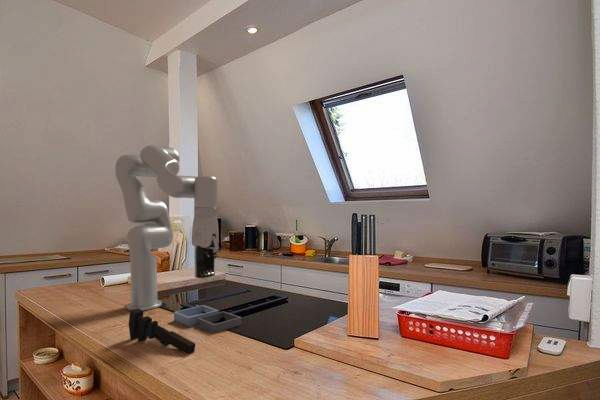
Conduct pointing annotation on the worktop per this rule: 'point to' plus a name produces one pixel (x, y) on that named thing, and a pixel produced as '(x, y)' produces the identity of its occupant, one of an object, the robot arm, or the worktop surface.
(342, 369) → the worktop surface
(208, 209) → the robot arm
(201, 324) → the socket frame
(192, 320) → the parts tray
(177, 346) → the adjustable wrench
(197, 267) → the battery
